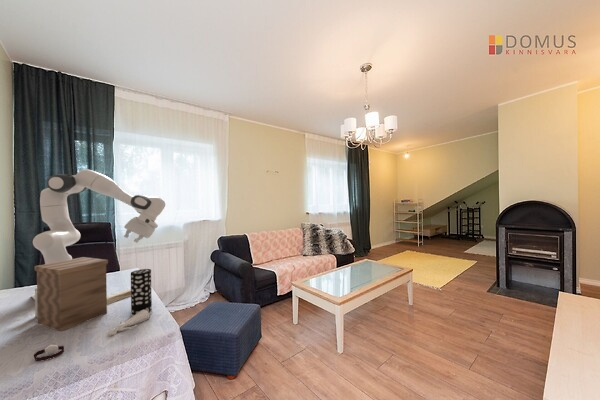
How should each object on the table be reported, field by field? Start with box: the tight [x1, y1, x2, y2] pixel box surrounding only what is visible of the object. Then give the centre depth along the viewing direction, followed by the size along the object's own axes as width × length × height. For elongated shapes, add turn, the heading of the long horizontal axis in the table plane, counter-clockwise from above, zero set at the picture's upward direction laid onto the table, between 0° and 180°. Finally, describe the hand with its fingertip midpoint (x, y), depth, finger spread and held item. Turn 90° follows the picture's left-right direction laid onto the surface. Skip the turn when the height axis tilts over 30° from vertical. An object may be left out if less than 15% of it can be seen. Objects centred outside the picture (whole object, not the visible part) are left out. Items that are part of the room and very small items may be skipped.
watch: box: [33, 344, 65, 362], centre depth 82 cm, size 8×5×4 cm, turn 115°
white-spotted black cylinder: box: [130, 268, 153, 317], centre depth 114 cm, size 8×8×20 cm
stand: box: [34, 256, 109, 332], centre depth 109 cm, size 20×18×26 cm
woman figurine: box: [106, 309, 153, 337], centre depth 102 cm, size 12×4×18 cm
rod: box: [107, 288, 131, 305], centre depth 132 cm, size 3×20×3 cm, turn 157°
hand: (130, 239), depth 141 cm, fingers open, 8 cm apart
